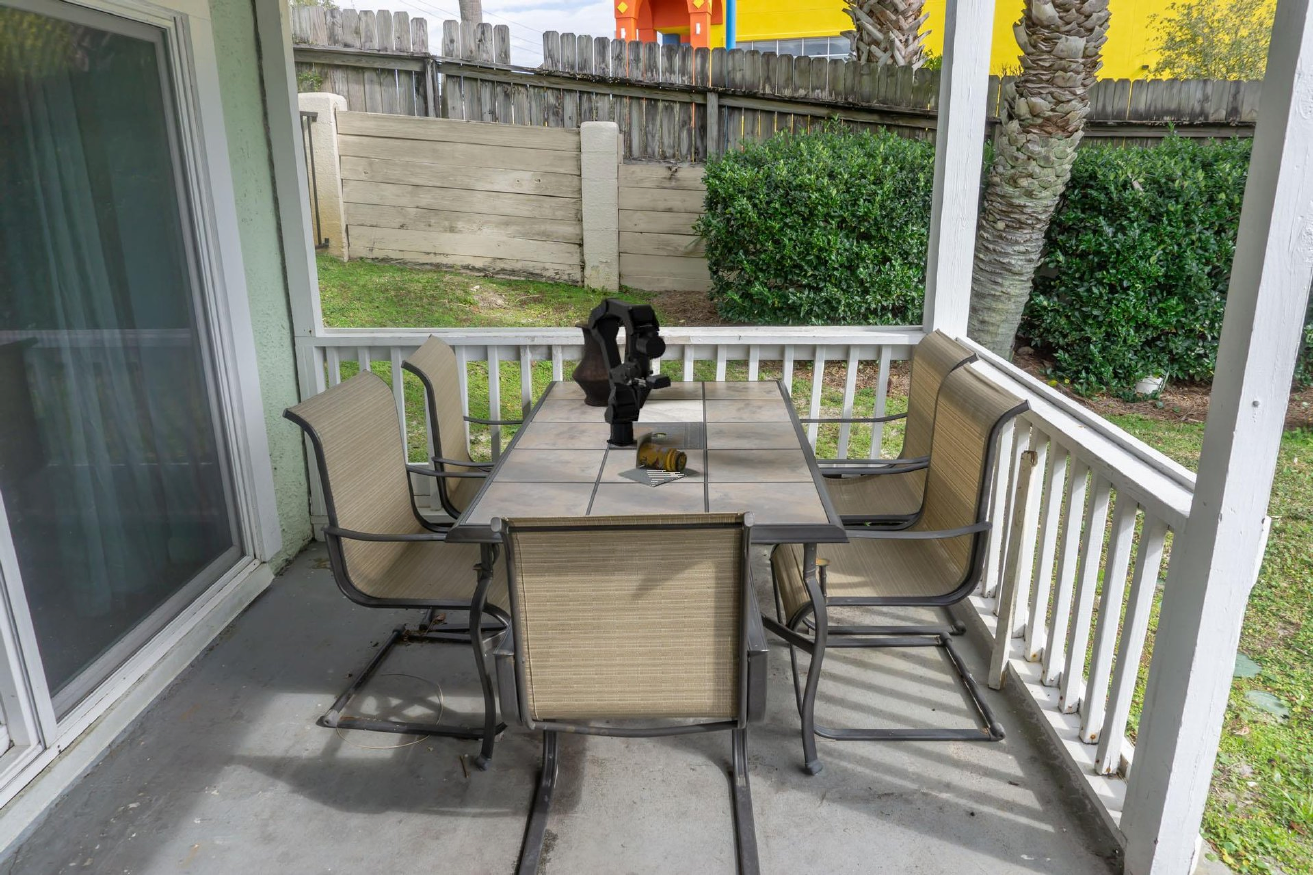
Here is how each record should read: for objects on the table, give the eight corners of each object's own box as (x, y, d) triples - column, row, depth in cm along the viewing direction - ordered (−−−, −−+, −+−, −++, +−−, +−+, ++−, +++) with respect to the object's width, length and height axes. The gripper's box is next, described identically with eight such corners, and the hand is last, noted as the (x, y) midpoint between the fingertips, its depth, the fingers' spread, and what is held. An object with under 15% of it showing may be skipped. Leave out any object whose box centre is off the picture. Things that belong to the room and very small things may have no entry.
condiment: (635, 468, 232) (675, 477, 227) (637, 437, 230) (677, 445, 224) (649, 462, 238) (688, 471, 233) (651, 431, 236) (691, 440, 230)
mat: (617, 474, 229) (617, 473, 229) (661, 461, 240) (661, 460, 240) (652, 486, 220) (652, 485, 220) (697, 472, 231) (697, 471, 231)
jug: (563, 407, 294) (560, 317, 286) (584, 394, 311) (581, 308, 303) (624, 412, 288) (623, 320, 280) (641, 399, 305) (641, 311, 297)
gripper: (593, 351, 238) (594, 407, 243) (641, 361, 225) (641, 420, 230) (624, 345, 246) (625, 400, 250) (672, 355, 233) (672, 412, 237)
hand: (639, 408), depth 242 cm, fingers closed
